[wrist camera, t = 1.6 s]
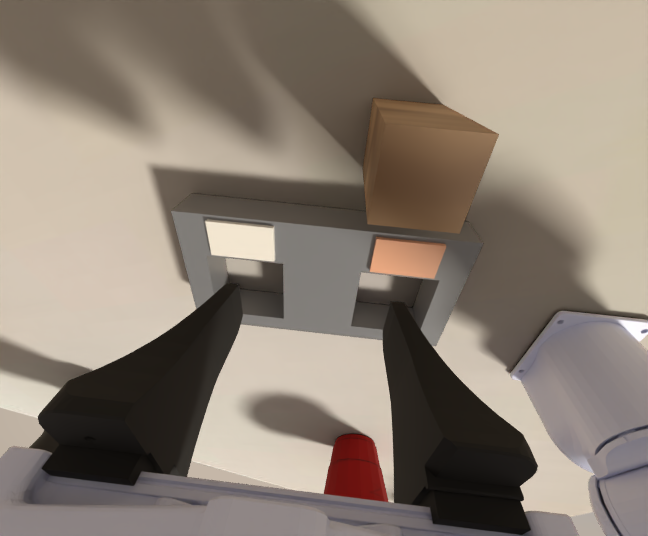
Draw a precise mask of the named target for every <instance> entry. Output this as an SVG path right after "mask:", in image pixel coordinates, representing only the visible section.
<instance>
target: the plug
mask: <svg viewBox="0 0 648 536" xmlns="http://www.w3.org/2000/svg"><path fill="white" fill-rule="evenodd" d="M498 136H499V134H497V133H495V132H493V131H492V130H490V129H488V128H486V127H484V126H482V125H480V124H478V123H477V122H475V121H473V120H471V119H469V118H467V117H465V116H463V115H461V114H460V113H458V112H456V111H454V110H452V109H450V108H448V107H446V106H444V105H442V104H432V103H421V102H410V101H399V100H389V99H378V98H373V102H372V109H371V115H370V122H369V129H368V135H367V142H366V149H365V155H364V162H363V178H364V190H365V202H366V214H367V224H371V225H380V226H390V227H400V228H409V229H419V230H429V231H438V232H448V233H458V234H460V231H461V229H462V226H463V224H464V221H465V219H466V216H467V214H468V211H469V208H470V206H471V203H472V201H473V198H474V196H475V193H476V191H477V188H478V186H479V183H480V181H481V178H482V176H483V173H484V171H485V168H486V166H487V163H488V161H489V158H490V156H491V153H492V151H493V148H494V146H495V143H496V141H497V138H498Z"/></svg>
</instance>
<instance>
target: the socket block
mask: <svg viewBox="0 0 648 536" xmlns="http://www.w3.org/2000/svg"><path fill="white" fill-rule="evenodd" d="M171 213H172V216H173V220H174V224H175V228H176V232H177V236H178V240H179V244H180V247H181V251H182V255H183V259H184V263H185V267H186V271H187V275H188V278H189V282H190V286H191V290H192V294H193V298H194V302H195V305H196V309H197V308H199V307H200V306H201V305H202V304H203V303H205V302H206V301H207V300H208V299H209V298H210V297H211V296H213V295H214V294H215V293H216V292H217V291H218V290H219V289H220V288H222V287H223V286H224V285H225V284H226V283H228V284H229V279H228V272H227V266H226V259H225V258H233V259H242V260H252V261H261V262H270V263H280V264H283V293H284V294H282V293H272V292H263V291H254V290H245V289H240V295H241V303H242V310H243V318H242V321H241V324H243V325H252V326H261V327H270V328H279V329H288V330H297V331H306V332H315V333H323V334H332V335H341V336H350V337H359V338H368V339H377V340H383V328H384V324H385V321H386V317H387V314H388V310H389V307H390V305H382V304H373V303H364V302H356V296H357V291H358V286H359V280H360V275H361V272H364V273H373V274H382V275H392V276H401V277H410V278H420V279H423V280H422V283H421V286H420V288H419V291H418V294H417V297H416V300H415V303H414V306H413V308H410V307H407V308H408V310H409V311H410V313H411V315H412V316H413V318H414V320H415V321H416V323H417V325H418V326H419V328H420V329H421V331H422V332H423V334H424V335H425V337H426V338H427V340H428V341H429V343H430V344H431V345H432V346H436V345H437V343H438V341H439V339H440V336H441V334H442V332H443V330H444V328H445V326H446V323H447V321H448V319H449V317H450V315H451V313H452V310H453V308H454V306H455V304H456V302H457V300H458V298H459V295H460V293H461V291H462V289H463V287H464V285H465V282H466V280H467V278H468V276H469V274H470V272H471V270H472V267H473V265H474V263H475V261H476V259H477V257H478V254H479V252H480V250H481V248H482V246H483V244H484V243H483V242H482V240H481V239H480V237H479V236H478V235H477V233H476V232H475V230H474V229H473V227H472V226H471V225H470V223H469V222H467V221H464V224H463V226H462V229H461V231H460V234H458V233H448V232H438V231H429V230H419V229H409V228H400V227H390V226H380V225H371V224H367V214H366V211H360V210H350V209H340V208H330V207H321V206H311V205H301V204H291V203H282V202H272V201H262V200H252V199H242V198H233V197H223V196H213V195H203V194H193V193H192V194H191V195H189V196H188V197H187V198H186V199H185V200H183V201H182V202H181V203H180V204H179V205H178V206H176V207H175V208H174V209H173V210H172V211H171Z"/></svg>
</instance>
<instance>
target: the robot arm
mask: <svg viewBox="0 0 648 536" xmlns="http://www.w3.org/2000/svg"><path fill="white" fill-rule="evenodd" d="M242 318H243V310H242V303H241V295H240V287H239V285H237V284H228V283H226V284H225V285H224V286H223V287H222V288H220V289H219V290H218V291H217V292H216V293H215V294H214V295H213V296H211V297H210V298H209V299H208V300H207V301H206V302H205V303H203V304H202V305H201V306H200V307H199V308H197V309H196V310H195V311H194V312H193V313H191V314H190V315H189V316H187V317H186V318H185V319H184V320H182V321H181V322H180V323H178V324H177V325H176V326H174V327H173V328H171V329H170V330H169V331H167V332H166V333H164V334H162V335H161V336H159V337H158V338H156V339H155V340H153V341H151V342H149V343H148V344H146V345H144V346H142V347H141V348H139V349H137V350H135V351H134V352H132V353H130V354H128V355H126V356H124V357H122V358H120V359H118V360H116V361H114V362H112V363H110V364H107V365H105V366H103V367H101V368H99V369H96V370H94V371H91V372H89V373H87V374H84V375H82V376H79V377H77V378H75V379H72V380H69V381H68V382H67V383H66V384H65V385H64V386H63V388H62V389H61V390H60V391H59V392H58V393H57V394H56V395H55V397H54V398H53V399H52V400H51V401H50V402H49V403H48V405H47V406H46V407H45V408H44V409H43V410H42V411H41V413H40V414H39V416H38V420H39V424H40V425H41V426H42V428H43V429H44V430H45V431H46V432H47V433H48V434H49V435H51V436H52V437H53V438H54V439H55V440H56V441H57V442H58V443H59V446H58V447H57V448H56V449H55V451H54V452H53V453H51V452H48V451H46V450H41V449H33V448H25V447H17V446H13V447H10V448H9V449H8V450H7V451H6V452H5V453H4V455H3V456H2V457H1V458H0V536H579V534H578V532H577V530H576V528H575V526H574V524H573V522H572V519H571V517H569V516H568V515H565V514H557V513H549V512H541V511H527V512H524V510H523V507H522V504H521V502H520V501H523V500H524V497H523V494H522V491H521V489H520V486H521V485H522V484H523V483H524V482H526V481H527V480H528V479H530V478H531V477H532V476H533V475H534V474H535V473H536V471H537V467H538V465H537V463H536V461H535V459H534V456H533V454H532V452H531V449H530V447H529V445H528V443H527V442H526V440H525V438H524V436H523V434H522V433H520V432H519V431H518V430H517V429H515V428H514V427H513V426H511V425H510V424H509V423H508V422H506V421H505V420H504V419H503V418H501V417H500V416H499V415H497V414H496V413H495V412H494V411H493V410H492V409H490V408H489V407H488V406H487V405H486V404H485V403H484V402H482V401H481V400H480V399H479V398H478V397H477V396H476V395H475V394H474V393H473V392H472V391H471V390H470V389H469V388H468V387H467V386H466V385H465V384H464V383H463V382H462V381H461V380H460V379H459V378H458V377H457V376H456V375H455V374H454V373H453V372H452V371H451V369H450V368H449V367H448V366H447V365H446V364H445V362H444V361H443V360H442V359H441V357H440V356H439V355H438V354H437V352H436V351H435V350H434V348H433V347H432V345H431V344H430V343H429V341H428V340H427V338H426V337H425V335H424V334H423V332H422V331H421V329H420V328H419V326H418V325H417V323H416V321H415V320H414V318H413V316H412V315H411V313H410V311H409V310H408V308H407V306H406V305H405V303H402V302H393V301H391V303H390V307H389V310H388V314H387V317H386V321H385V324H384V328H383V353H384V360H385V366H386V373H387V379H388V385H389V392H390V399H391V411H392V430H393V457H394V503H391V502H383V501H375V500H367V499H359V498H351V497H343V496H335V495H327V494H319V493H311V492H303V491H295V490H287V489H279V488H271V487H263V486H255V485H247V484H239V483H231V482H223V481H215V480H206V479H199V478H191V477H187V474H188V470H189V467H190V463H191V459H192V456H193V452H194V448H195V445H196V442H197V438H198V435H199V431H200V428H201V425H202V422H203V419H204V415H205V412H206V409H207V406H208V403H209V400H210V397H211V394H212V391H213V388H214V385H215V383H216V380H217V378H218V376H219V373H220V371H221V369H222V367H223V365H224V363H225V360H226V358H227V356H228V354H229V352H230V350H231V347H232V345H233V343H234V341H235V338H236V336H237V334H238V331H239V328H240V324H241V321H242ZM647 334H648V320H645V319H636V318H626V317H617V316H608V315H599V314H590V313H580V312H571V311H559V312H558V313H556V314H555V316H554V317H553V318H552V320H551V321H550V322H549V324H548V325H547V326H546V327H545V329H544V330H543V331H542V333H541V334H540V335H539V337H538V338H537V339H536V341H535V342H534V343H533V344H532V346H531V347H530V348H529V350H528V351H527V352H526V354H525V355H524V356H523V358H522V359H521V360H520V362H519V363H518V364H517V365H516V367H515V368H514V369H513V371H512V372H511V373H510V376H511V378H512V379H514V380H521V382H522V384H523V386H524V388H525V390H526V392H527V394H528V396H529V398H530V400H531V402H532V403H533V405H534V407H535V409H536V411H537V413H538V415H539V417H540V419H541V421H542V423H543V425H544V427H545V429H546V431H547V432H548V434H549V436H550V438H551V439H552V441H553V442H554V443H555V445H556V446H557V447H558V448H559V449H560V451H561V452H562V453H563V454H564V455H565V456H567V457H568V458H569V459H570V460H571V461H572V462H574V463H575V464H576V465H578V466H579V467H581V468H583V469H585V470H587V471H589V472H592V473H594V474H595V475H593V476H591V477H590V479H589V482H588V490H589V498H590V503H591V506H592V509H593V512H594V514H595V517H596V519H597V521H598V523H599V525H600V527H601V528H602V530H603V532H604V534H605V535H606V536H648V350H647V349H646V348H645V347H644V346H643V345H642V344H641V343H640V341H641V340H642V339H643V338H644V337H645V336H646V335H647Z"/></svg>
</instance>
